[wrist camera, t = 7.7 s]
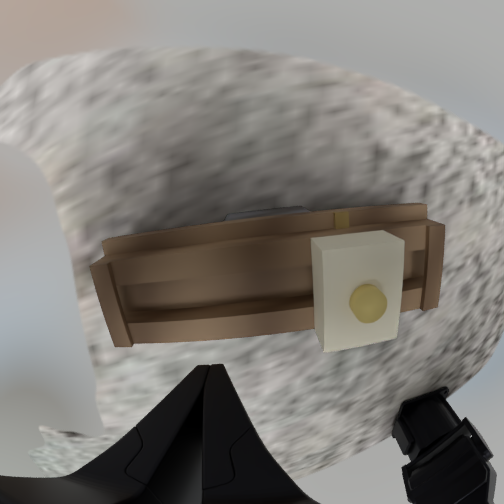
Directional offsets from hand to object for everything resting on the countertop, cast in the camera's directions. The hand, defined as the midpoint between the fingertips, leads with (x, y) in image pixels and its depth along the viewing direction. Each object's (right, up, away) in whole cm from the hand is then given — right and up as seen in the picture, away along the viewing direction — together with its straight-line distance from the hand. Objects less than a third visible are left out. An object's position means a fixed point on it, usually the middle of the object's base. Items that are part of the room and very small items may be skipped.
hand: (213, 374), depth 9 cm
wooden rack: (+2, +3, +12) cm, 12 cm away
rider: (+6, +3, +8) cm, 10 cm away
